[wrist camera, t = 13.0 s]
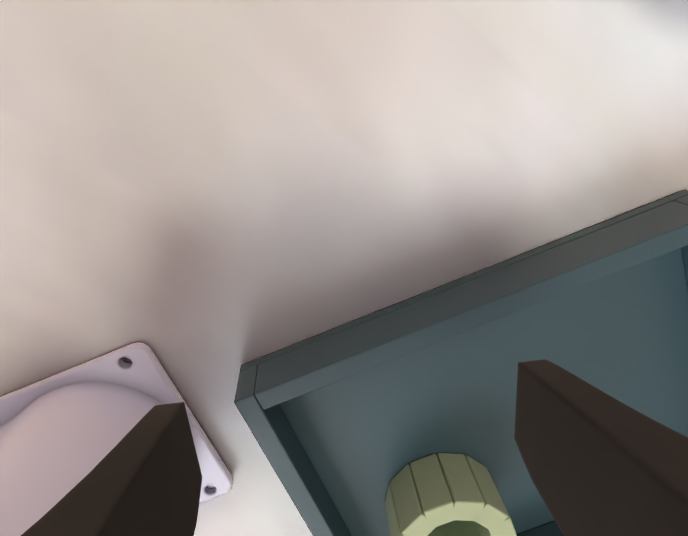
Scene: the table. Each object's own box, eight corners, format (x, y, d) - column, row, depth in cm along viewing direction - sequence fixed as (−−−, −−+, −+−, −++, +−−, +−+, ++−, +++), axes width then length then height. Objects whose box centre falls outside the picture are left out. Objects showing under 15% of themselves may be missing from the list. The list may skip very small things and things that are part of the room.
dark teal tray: (367, 589, 26) (374, 640, 24) (240, 364, 21) (233, 402, 18) (722, 461, 25) (765, 502, 23) (685, 188, 20) (736, 205, 17)
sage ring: (405, 549, 25) (418, 606, 22) (369, 476, 23) (378, 529, 20) (504, 514, 24) (529, 567, 22) (475, 437, 23) (498, 485, 20)
